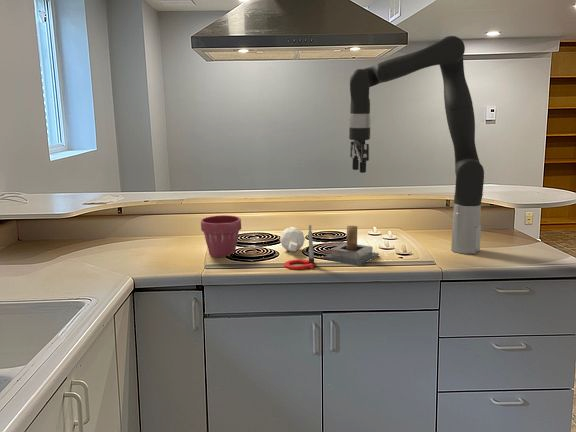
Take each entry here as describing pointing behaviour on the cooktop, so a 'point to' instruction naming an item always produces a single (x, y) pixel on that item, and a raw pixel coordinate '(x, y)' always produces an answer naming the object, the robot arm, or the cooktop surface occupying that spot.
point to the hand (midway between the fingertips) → (359, 171)
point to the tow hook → (308, 263)
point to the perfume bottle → (292, 239)
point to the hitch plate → (328, 257)
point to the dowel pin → (352, 238)
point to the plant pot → (221, 234)
